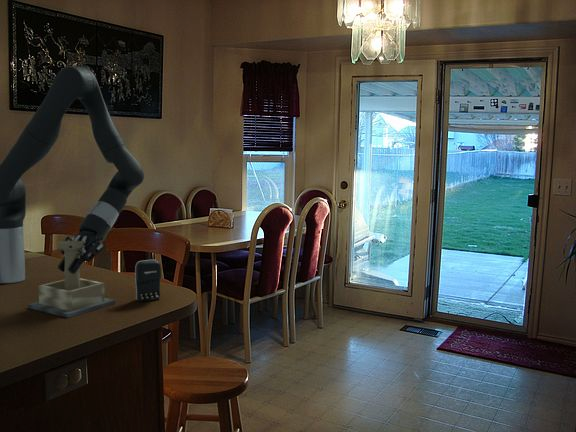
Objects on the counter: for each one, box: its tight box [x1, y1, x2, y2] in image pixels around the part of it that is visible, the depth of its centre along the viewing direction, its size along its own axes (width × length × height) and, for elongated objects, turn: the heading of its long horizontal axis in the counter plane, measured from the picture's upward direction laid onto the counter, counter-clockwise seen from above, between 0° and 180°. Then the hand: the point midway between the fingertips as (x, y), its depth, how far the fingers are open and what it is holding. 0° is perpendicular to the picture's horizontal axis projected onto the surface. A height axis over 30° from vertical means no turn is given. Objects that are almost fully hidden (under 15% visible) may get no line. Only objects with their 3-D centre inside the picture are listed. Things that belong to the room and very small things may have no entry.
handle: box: [57, 240, 83, 291], centre depth 164 cm, size 5×6×15 cm
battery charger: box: [134, 259, 162, 302], centre depth 172 cm, size 7×4×11 cm, turn 120°
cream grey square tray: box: [27, 277, 116, 319], centre depth 165 cm, size 16×16×6 cm
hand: (65, 270), depth 162 cm, fingers closed on handle, 3 cm apart
